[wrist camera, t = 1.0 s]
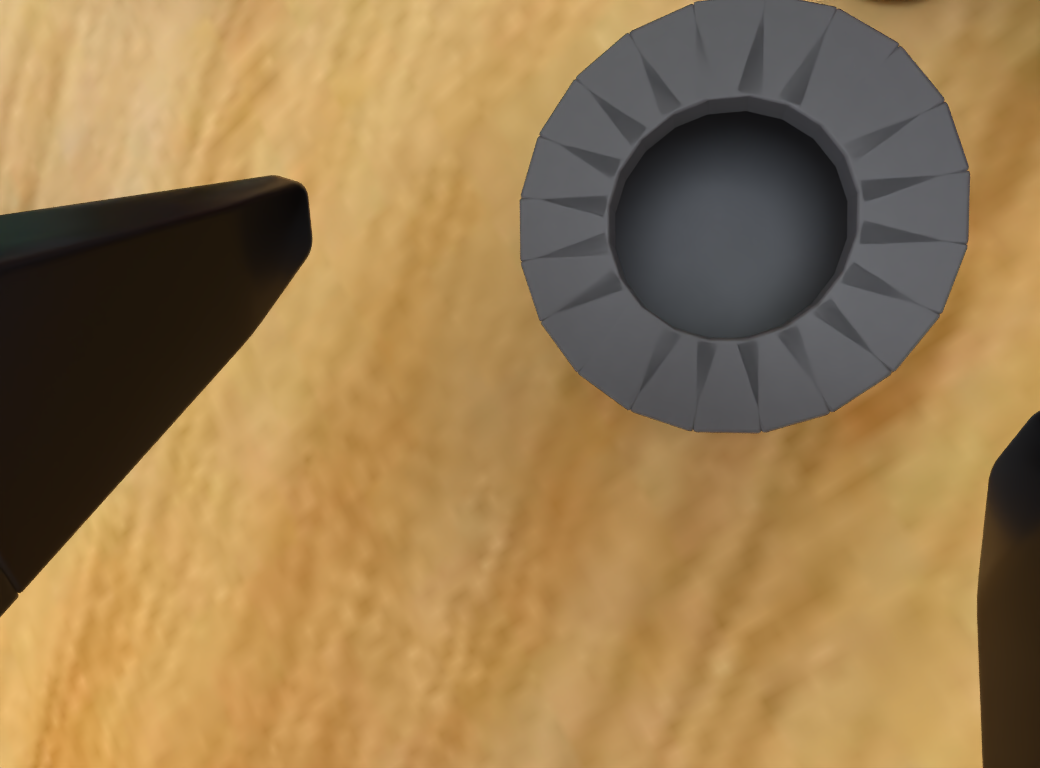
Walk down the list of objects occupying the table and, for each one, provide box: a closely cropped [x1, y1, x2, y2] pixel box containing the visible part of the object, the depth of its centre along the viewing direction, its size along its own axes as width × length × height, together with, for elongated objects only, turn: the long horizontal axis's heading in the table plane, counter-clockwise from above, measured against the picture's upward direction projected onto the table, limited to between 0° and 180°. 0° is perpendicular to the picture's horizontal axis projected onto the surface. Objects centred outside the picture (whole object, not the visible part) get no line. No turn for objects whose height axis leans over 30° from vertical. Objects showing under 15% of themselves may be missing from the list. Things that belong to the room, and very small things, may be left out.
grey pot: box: [520, 0, 970, 433], centre depth 20 cm, size 10×10×6 cm
